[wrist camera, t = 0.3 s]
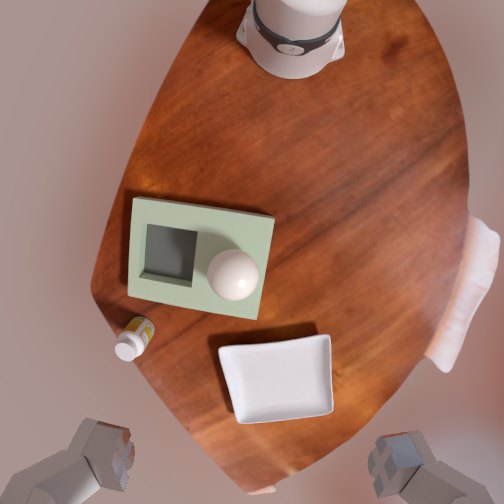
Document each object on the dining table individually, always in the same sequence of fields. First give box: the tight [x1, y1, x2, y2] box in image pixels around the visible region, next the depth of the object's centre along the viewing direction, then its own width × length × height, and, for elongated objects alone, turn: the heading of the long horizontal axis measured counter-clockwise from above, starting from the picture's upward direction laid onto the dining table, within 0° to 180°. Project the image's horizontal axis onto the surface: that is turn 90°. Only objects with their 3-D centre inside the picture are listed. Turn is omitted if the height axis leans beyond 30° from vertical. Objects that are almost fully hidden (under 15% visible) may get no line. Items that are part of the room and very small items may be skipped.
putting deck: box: [128, 196, 275, 320], centre depth 55 cm, size 18×24×3 cm
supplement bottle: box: [115, 317, 154, 361], centre depth 56 cm, size 5×5×10 cm
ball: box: [207, 249, 259, 301], centre depth 50 cm, size 8×8×8 cm
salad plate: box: [218, 334, 333, 424], centre depth 61 cm, size 21×21×3 cm
